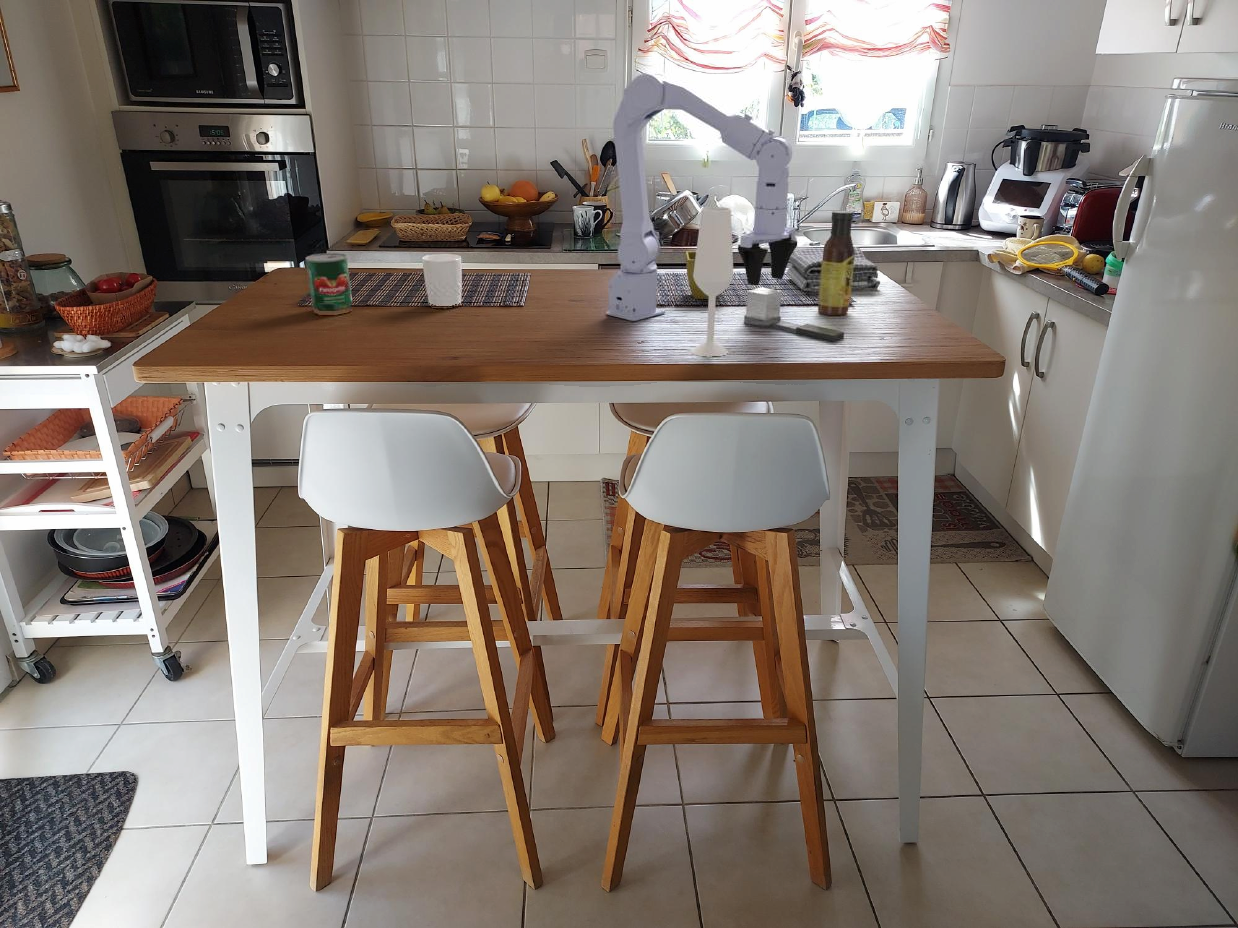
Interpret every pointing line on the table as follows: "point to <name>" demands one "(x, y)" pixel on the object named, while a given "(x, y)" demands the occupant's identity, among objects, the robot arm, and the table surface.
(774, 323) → the ratchet
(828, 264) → the sauce bottle
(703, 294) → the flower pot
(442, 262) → the white cup
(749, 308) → the white sugar cube
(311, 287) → the canned tomato
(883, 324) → the table surface
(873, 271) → the towel
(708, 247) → the champagne flute
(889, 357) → the table surface
